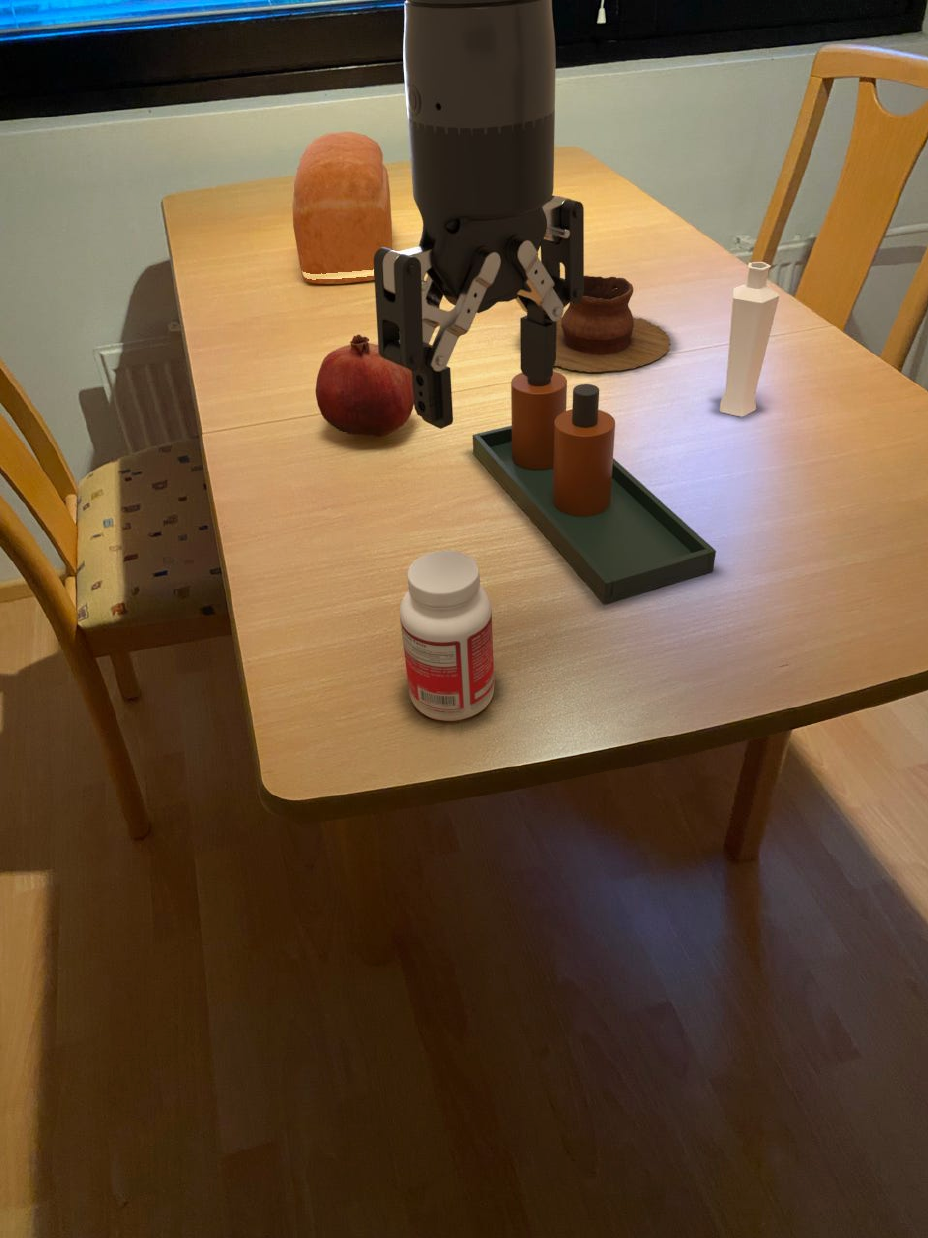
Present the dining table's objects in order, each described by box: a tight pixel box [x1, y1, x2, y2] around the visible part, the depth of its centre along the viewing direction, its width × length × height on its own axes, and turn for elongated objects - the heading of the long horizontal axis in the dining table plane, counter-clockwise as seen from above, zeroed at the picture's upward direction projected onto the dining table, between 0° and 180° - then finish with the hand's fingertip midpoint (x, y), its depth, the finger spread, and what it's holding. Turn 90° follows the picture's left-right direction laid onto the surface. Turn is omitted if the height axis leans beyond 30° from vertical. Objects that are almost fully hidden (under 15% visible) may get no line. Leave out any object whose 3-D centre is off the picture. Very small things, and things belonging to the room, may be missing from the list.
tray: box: [472, 425, 717, 605], centre depth 85 cm, size 10×27×2 cm, turn 22°
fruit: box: [315, 334, 414, 438], centre depth 95 cm, size 11×10×10 cm
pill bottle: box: [399, 549, 496, 722], centre depth 63 cm, size 6×6×11 cm
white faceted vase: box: [719, 261, 781, 418], centre depth 94 cm, size 5×4×15 cm
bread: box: [292, 131, 393, 285], centre depth 138 cm, size 14×26×16 cm, turn 4°
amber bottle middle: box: [553, 383, 616, 516], centre depth 82 cm, size 5×5×11 cm
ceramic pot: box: [554, 275, 672, 373], centre depth 111 cm, size 18×18×7 cm
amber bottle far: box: [510, 370, 568, 470], centre depth 88 cm, size 5×5×11 cm
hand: (488, 399), depth 57 cm, fingers open, 8 cm apart
